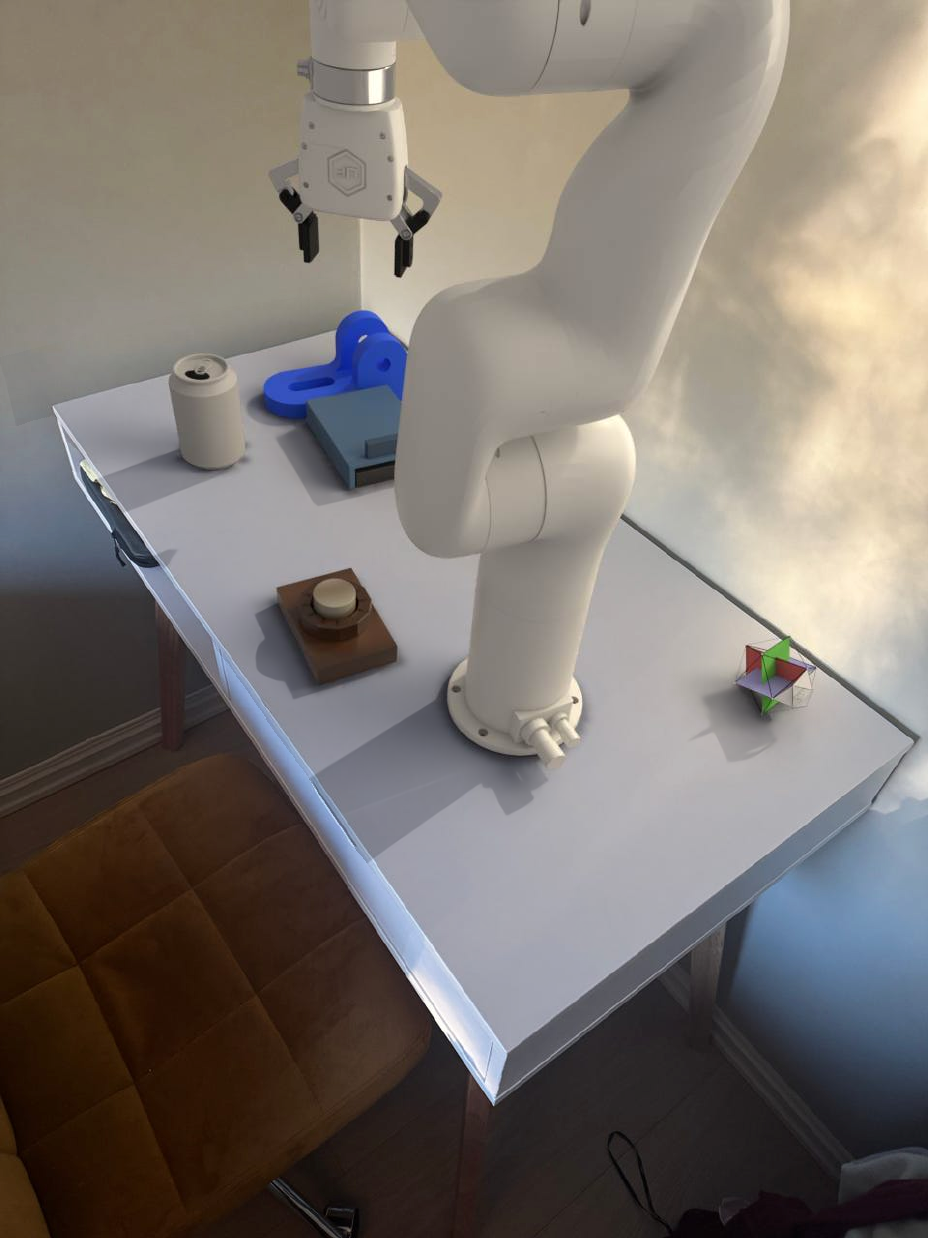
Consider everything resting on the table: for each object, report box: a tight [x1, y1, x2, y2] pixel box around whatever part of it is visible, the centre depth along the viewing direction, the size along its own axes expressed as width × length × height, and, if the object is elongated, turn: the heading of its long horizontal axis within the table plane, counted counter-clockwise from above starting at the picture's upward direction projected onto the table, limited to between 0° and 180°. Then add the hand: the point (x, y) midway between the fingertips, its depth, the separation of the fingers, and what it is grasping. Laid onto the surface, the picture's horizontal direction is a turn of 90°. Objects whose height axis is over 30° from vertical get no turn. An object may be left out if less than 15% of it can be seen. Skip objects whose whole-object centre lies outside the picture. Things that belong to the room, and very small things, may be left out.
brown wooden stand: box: [275, 567, 398, 686], centre depth 88 cm, size 12×8×4 cm, turn 26°
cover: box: [306, 385, 402, 490], centre depth 110 cm, size 15×11×5 cm
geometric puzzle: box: [733, 634, 818, 716], centre depth 85 cm, size 7×7×8 cm
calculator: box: [355, 460, 395, 488], centre depth 111 cm, size 14×9×2 cm, turn 26°
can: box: [168, 352, 246, 471], centre depth 105 cm, size 8×8×12 cm
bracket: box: [262, 309, 408, 420], centre depth 117 cm, size 18×8×9 cm, turn 115°
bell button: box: [313, 579, 356, 620], centre depth 87 cm, size 4×4×2 cm
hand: (356, 264), depth 95 cm, fingers open, 9 cm apart
